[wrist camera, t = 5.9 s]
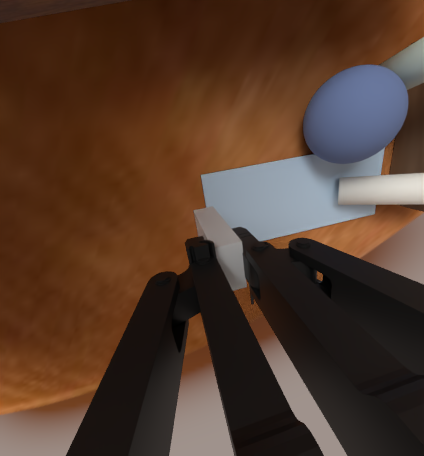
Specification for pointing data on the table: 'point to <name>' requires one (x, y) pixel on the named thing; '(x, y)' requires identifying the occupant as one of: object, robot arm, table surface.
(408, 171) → the rail
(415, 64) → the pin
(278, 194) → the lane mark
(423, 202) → the pin
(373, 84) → the ball
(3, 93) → the table surface
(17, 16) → the tissue box cover
